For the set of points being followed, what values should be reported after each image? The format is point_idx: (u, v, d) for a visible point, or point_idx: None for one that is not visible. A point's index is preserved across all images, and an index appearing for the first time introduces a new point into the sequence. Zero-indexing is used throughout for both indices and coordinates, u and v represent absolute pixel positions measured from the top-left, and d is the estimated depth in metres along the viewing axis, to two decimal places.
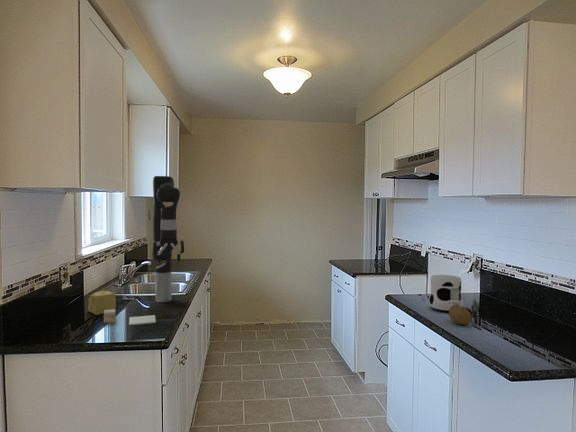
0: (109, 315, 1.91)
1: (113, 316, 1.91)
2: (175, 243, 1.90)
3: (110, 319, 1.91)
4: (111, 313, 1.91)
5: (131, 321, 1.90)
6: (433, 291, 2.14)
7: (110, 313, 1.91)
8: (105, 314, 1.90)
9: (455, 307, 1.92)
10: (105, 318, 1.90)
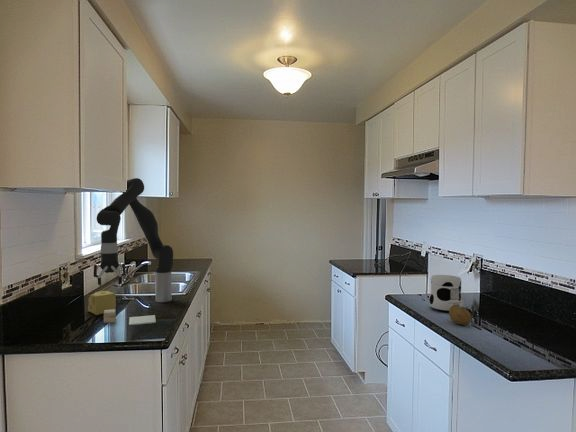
0: (109, 315, 1.91)
1: (113, 316, 1.91)
2: None
3: (110, 319, 1.91)
4: (111, 313, 1.91)
5: (131, 321, 1.90)
6: (433, 291, 2.14)
7: (110, 313, 1.91)
8: (105, 314, 1.90)
9: (455, 307, 1.92)
10: (105, 318, 1.90)
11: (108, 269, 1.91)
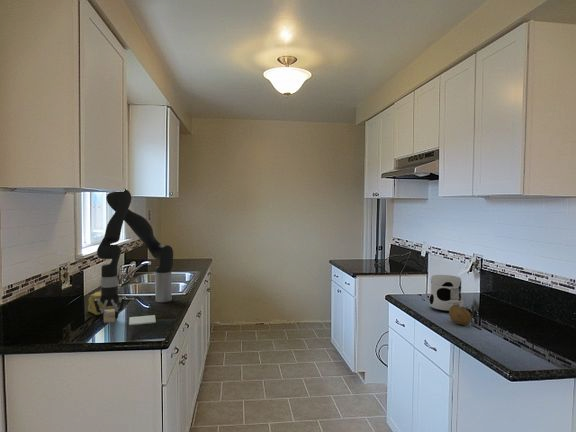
0: (109, 315, 1.91)
1: (113, 316, 1.91)
2: None
3: (110, 319, 1.91)
4: (111, 313, 1.91)
5: (131, 321, 1.90)
6: (433, 291, 2.14)
7: (110, 313, 1.91)
8: (105, 314, 1.90)
9: (455, 307, 1.92)
10: (105, 318, 1.90)
11: (109, 302, 1.92)
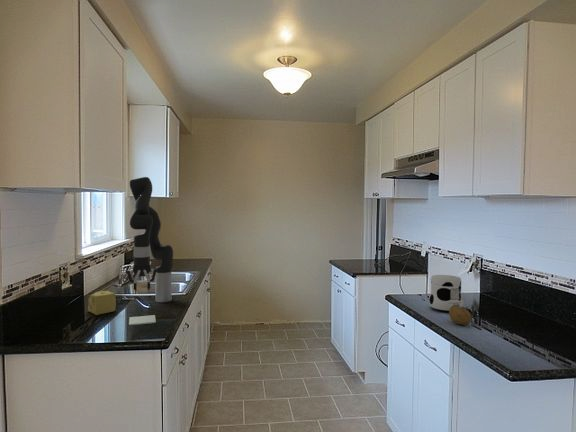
0: (142, 285, 1.91)
1: (145, 286, 1.91)
2: None
3: (143, 289, 1.91)
4: (144, 283, 1.91)
5: (131, 321, 1.90)
6: (433, 291, 2.14)
7: (143, 283, 1.91)
8: (138, 284, 1.90)
9: (455, 307, 1.92)
10: (137, 288, 1.90)
11: (141, 272, 1.92)
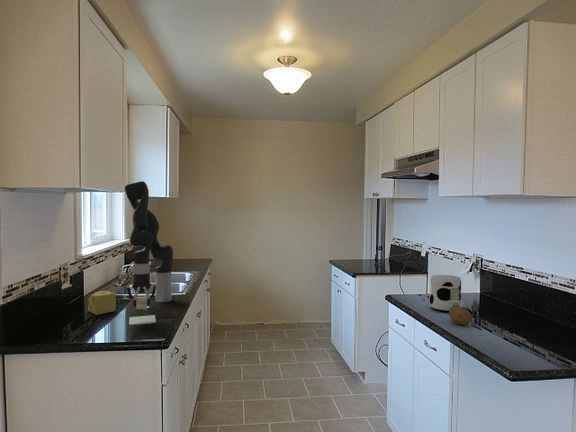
0: (141, 302, 1.91)
1: (145, 303, 1.91)
2: None
3: (142, 306, 1.91)
4: (143, 300, 1.91)
5: (131, 321, 1.90)
6: (433, 291, 2.14)
7: (142, 300, 1.91)
8: (137, 301, 1.90)
9: (455, 307, 1.92)
10: (137, 305, 1.90)
11: (141, 289, 1.92)
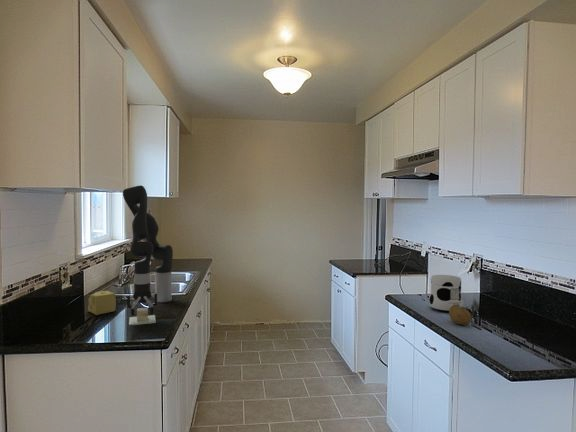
0: (142, 313, 1.91)
1: (146, 314, 1.92)
2: None
3: (143, 317, 1.91)
4: (144, 311, 1.91)
5: (131, 321, 1.90)
6: (433, 291, 2.14)
7: (143, 311, 1.91)
8: (138, 312, 1.91)
9: (455, 307, 1.92)
10: (138, 316, 1.91)
11: (141, 299, 1.92)
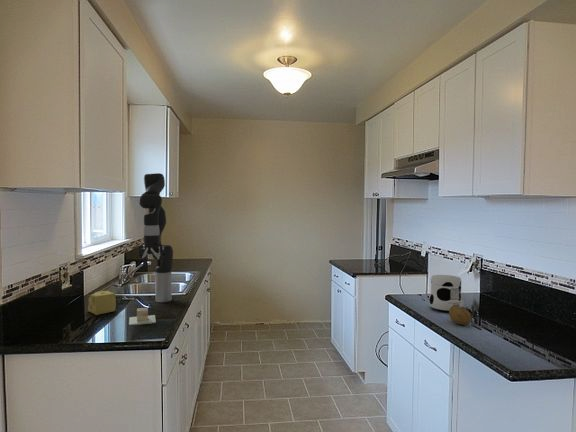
0: (142, 313, 1.91)
1: (146, 314, 1.92)
2: None
3: (143, 317, 1.91)
4: (144, 311, 1.91)
5: (131, 321, 1.90)
6: (433, 291, 2.14)
7: (143, 311, 1.91)
8: (138, 312, 1.91)
9: (455, 307, 1.92)
10: (138, 316, 1.91)
11: (149, 251, 1.97)
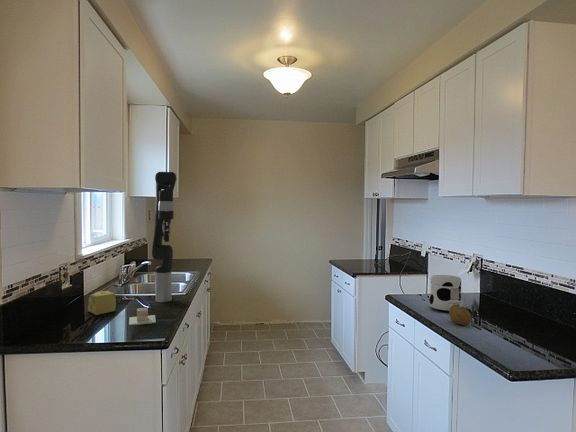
0: (142, 313, 1.91)
1: (146, 314, 1.92)
2: None
3: (143, 317, 1.91)
4: (144, 311, 1.91)
5: (131, 321, 1.90)
6: (433, 291, 2.14)
7: (143, 311, 1.91)
8: (138, 312, 1.91)
9: (455, 307, 1.92)
10: (138, 316, 1.91)
11: (163, 226, 2.06)
